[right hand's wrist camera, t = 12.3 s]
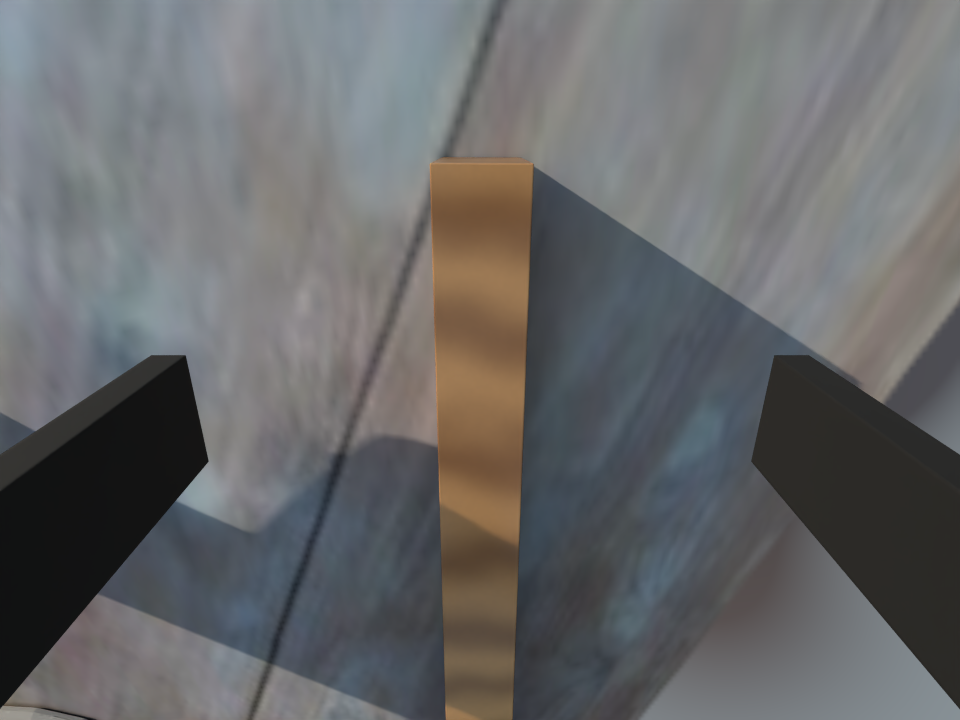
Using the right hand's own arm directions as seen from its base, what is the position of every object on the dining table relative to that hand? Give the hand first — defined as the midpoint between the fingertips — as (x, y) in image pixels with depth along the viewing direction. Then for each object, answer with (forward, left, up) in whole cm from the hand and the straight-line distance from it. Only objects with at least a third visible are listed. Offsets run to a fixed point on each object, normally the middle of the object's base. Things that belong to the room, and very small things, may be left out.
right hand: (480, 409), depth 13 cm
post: (+2, +22, -22) cm, 30 cm away
